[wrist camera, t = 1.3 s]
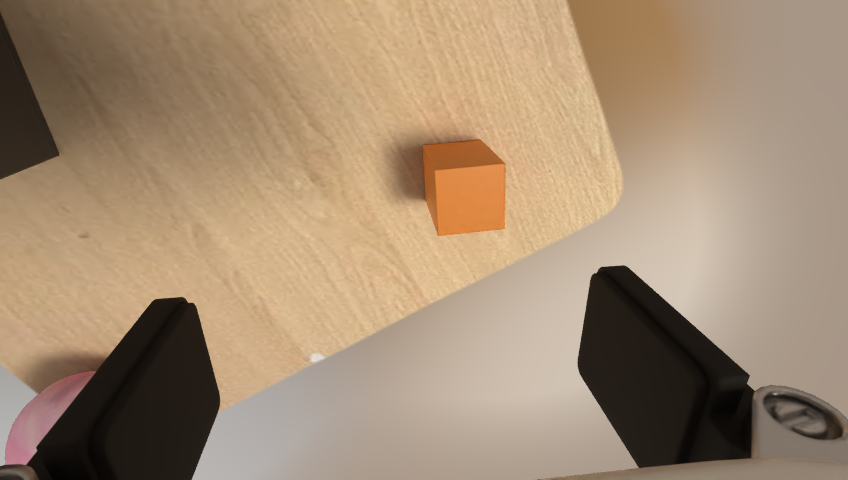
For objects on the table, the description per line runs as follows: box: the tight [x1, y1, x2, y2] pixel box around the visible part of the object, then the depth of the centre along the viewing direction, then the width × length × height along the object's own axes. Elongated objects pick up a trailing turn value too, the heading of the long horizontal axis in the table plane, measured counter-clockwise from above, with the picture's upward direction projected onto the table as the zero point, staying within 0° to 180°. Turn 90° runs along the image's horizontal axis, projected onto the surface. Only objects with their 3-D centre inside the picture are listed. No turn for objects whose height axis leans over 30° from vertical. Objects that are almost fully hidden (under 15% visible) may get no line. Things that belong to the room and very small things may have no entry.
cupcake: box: [5, 371, 96, 465], centre depth 32 cm, size 9×9×10 cm
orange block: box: [422, 140, 505, 236], centre depth 28 cm, size 4×4×6 cm
